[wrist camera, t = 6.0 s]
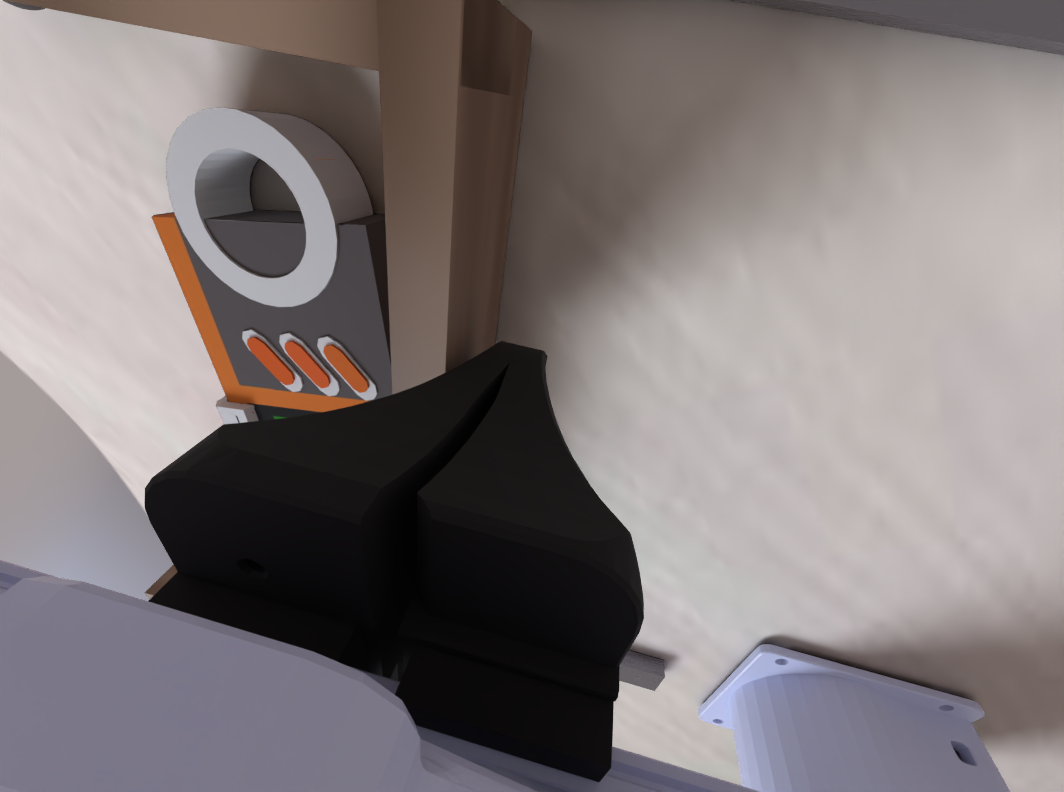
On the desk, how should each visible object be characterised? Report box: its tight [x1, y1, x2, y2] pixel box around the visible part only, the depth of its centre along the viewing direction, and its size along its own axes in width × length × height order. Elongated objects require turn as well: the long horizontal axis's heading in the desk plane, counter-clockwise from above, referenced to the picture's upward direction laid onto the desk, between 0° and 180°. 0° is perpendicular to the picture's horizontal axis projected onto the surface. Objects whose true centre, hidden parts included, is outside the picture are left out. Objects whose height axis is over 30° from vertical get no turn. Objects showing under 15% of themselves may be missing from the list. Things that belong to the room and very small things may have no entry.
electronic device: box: [152, 107, 392, 424], centre depth 14 cm, size 7×3×15 cm
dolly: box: [3, 0, 532, 600], centre depth 14 cm, size 13×23×4 cm, turn 171°
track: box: [619, 0, 1064, 691], centre depth 15 cm, size 26×28×1 cm
